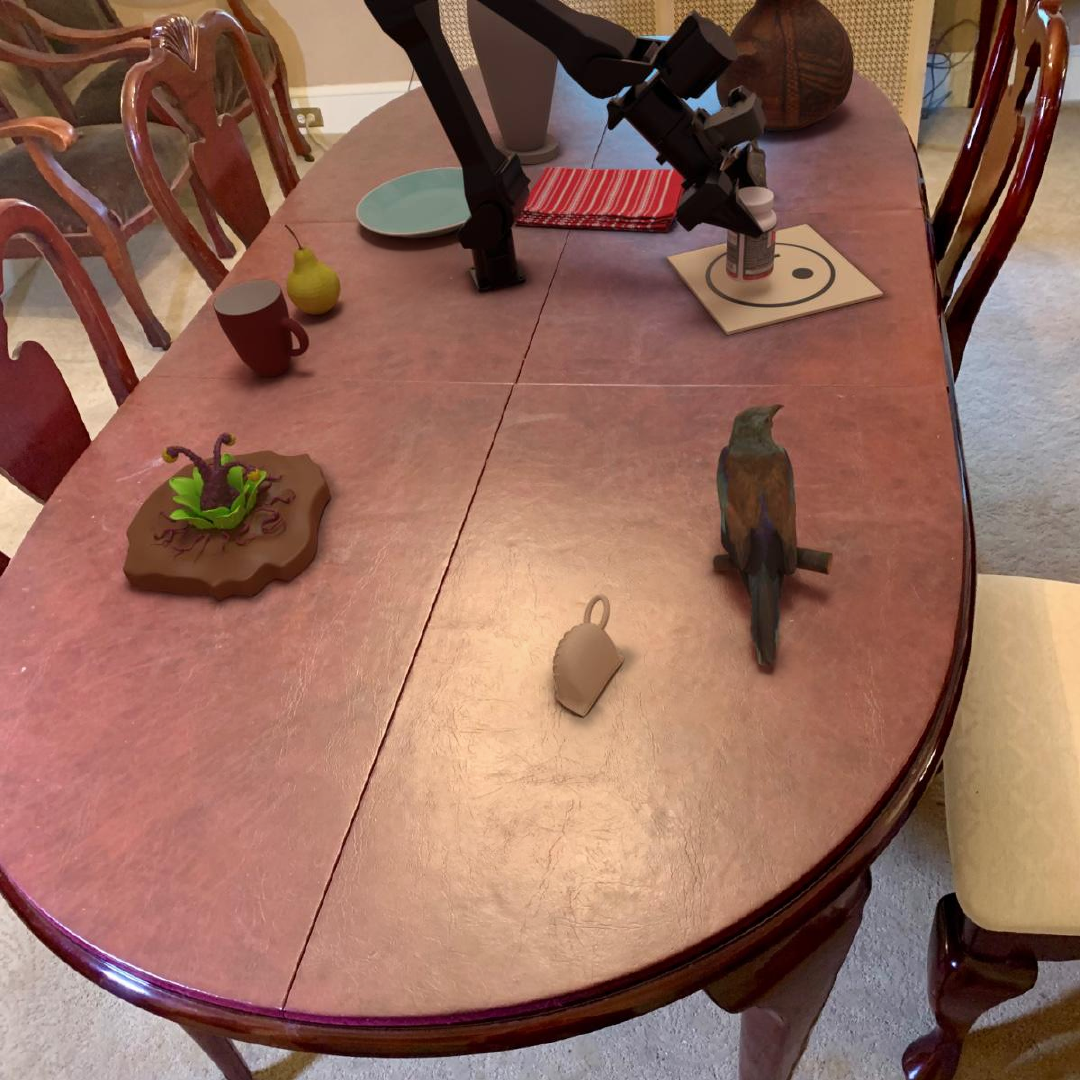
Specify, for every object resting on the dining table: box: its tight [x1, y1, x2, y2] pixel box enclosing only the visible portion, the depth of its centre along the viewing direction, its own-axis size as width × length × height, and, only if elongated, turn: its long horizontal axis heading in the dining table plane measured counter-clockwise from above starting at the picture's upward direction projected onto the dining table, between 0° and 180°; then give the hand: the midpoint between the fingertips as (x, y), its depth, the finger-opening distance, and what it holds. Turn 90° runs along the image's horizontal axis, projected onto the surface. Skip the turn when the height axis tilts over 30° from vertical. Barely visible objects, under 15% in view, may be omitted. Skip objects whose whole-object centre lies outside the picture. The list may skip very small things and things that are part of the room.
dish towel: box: [514, 166, 687, 233], centre depth 138 cm, size 17×24×3 cm
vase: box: [466, 0, 559, 165], centre depth 143 cm, size 13×13×35 cm
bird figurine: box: [712, 403, 834, 666], centre depth 79 cm, size 13×10×20 cm
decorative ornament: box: [552, 593, 625, 718], centre depth 76 cm, size 4×8×5 cm, turn 146°
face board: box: [666, 223, 884, 336], centre depth 119 cm, size 20×20×1 cm
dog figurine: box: [749, 139, 769, 189], centre depth 131 cm, size 12×6×7 cm, turn 165°
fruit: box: [284, 223, 342, 316], centre depth 121 cm, size 7×7×12 cm
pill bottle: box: [726, 187, 778, 283], centre depth 112 cm, size 6×6×10 cm
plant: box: [122, 432, 332, 601], centre depth 92 cm, size 20×20×11 cm
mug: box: [212, 279, 310, 378], centre depth 113 cm, size 10×8×10 cm
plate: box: [355, 166, 471, 239], centre depth 142 cm, size 22×22×3 cm
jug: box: [715, 0, 855, 132], centre depth 144 cm, size 22×22×30 cm
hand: (763, 223), depth 111 cm, fingers closed on pill bottle, 6 cm apart
